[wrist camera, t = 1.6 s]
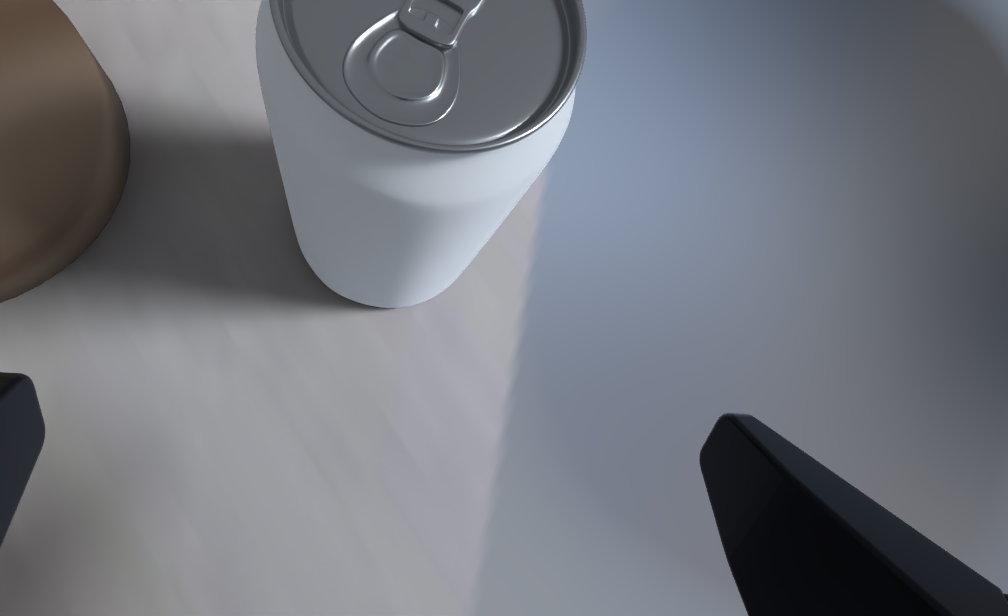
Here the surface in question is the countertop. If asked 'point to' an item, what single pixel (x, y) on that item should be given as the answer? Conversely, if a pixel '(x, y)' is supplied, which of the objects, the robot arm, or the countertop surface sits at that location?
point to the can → (412, 128)
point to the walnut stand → (53, 145)
